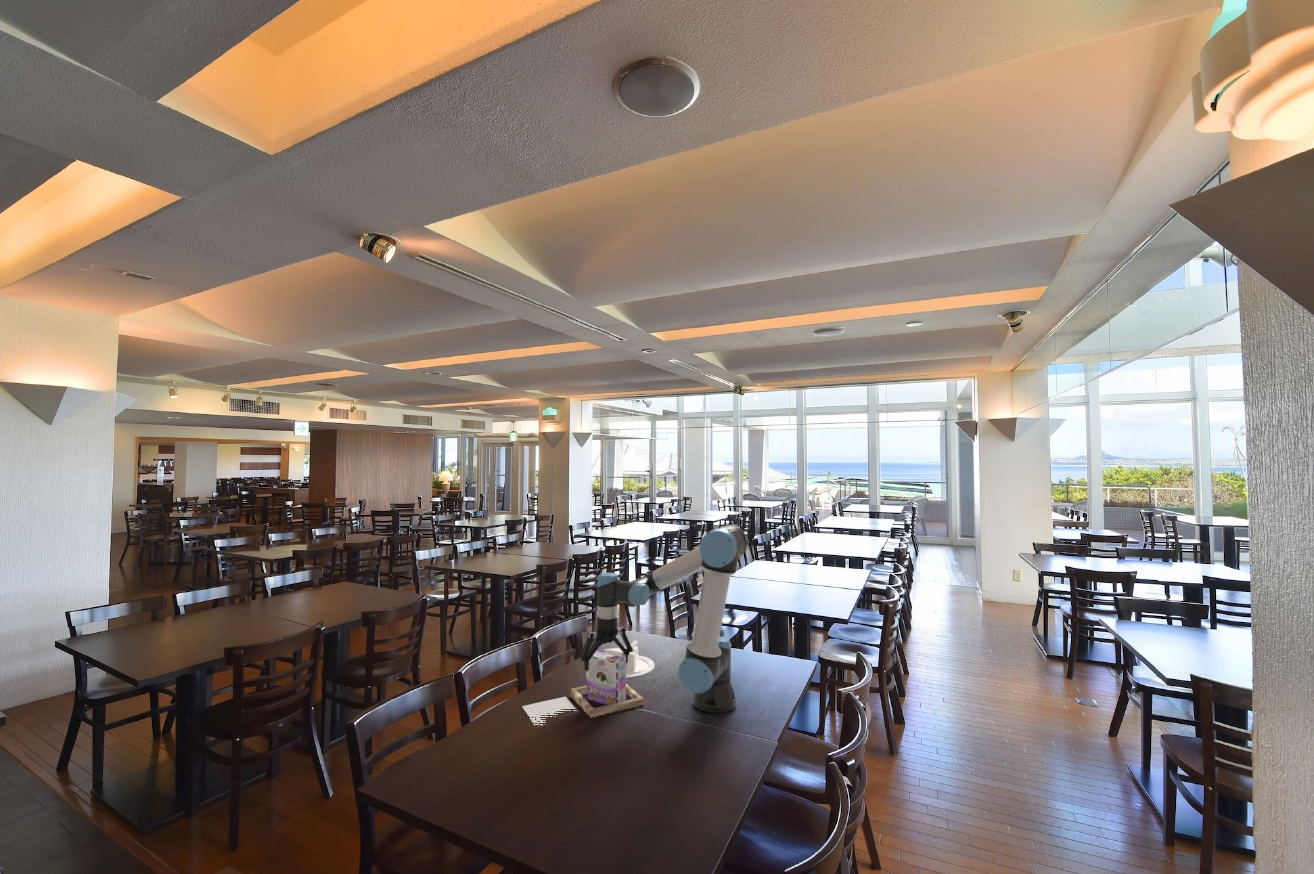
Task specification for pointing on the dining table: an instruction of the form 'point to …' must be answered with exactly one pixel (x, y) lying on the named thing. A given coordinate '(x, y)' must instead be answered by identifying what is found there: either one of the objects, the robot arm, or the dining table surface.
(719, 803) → the dining table surface
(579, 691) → the pocket frame
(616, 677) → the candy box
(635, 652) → the dish
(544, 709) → the place mat
